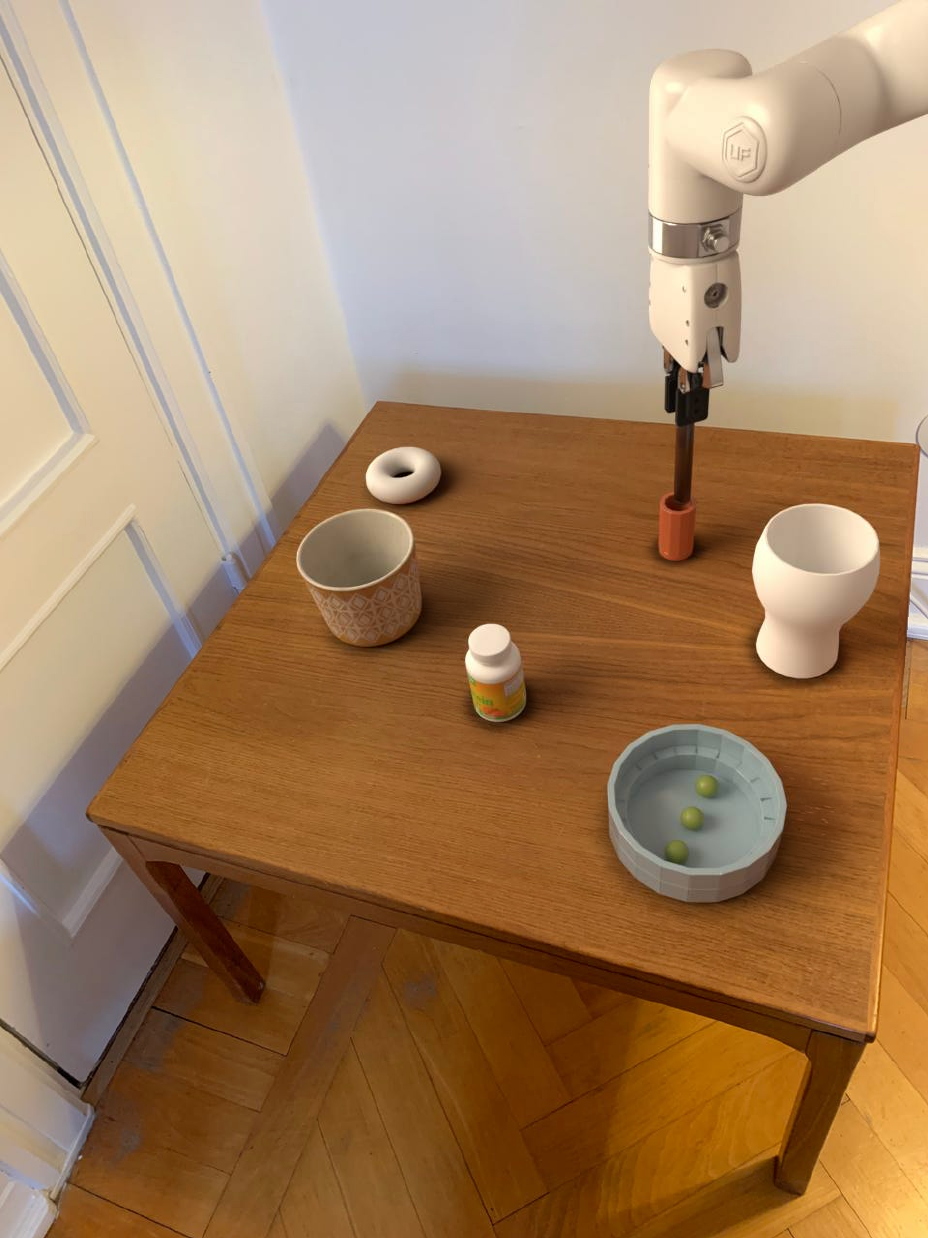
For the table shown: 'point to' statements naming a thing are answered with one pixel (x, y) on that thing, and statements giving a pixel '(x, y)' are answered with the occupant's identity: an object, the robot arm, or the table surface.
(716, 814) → the bowl
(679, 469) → the stick
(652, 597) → the table surface
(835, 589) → the cup
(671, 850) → the pea
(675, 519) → the holder
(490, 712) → the supplement bottle
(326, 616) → the planter
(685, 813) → the pea
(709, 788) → the pea
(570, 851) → the table surface
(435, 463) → the donut
